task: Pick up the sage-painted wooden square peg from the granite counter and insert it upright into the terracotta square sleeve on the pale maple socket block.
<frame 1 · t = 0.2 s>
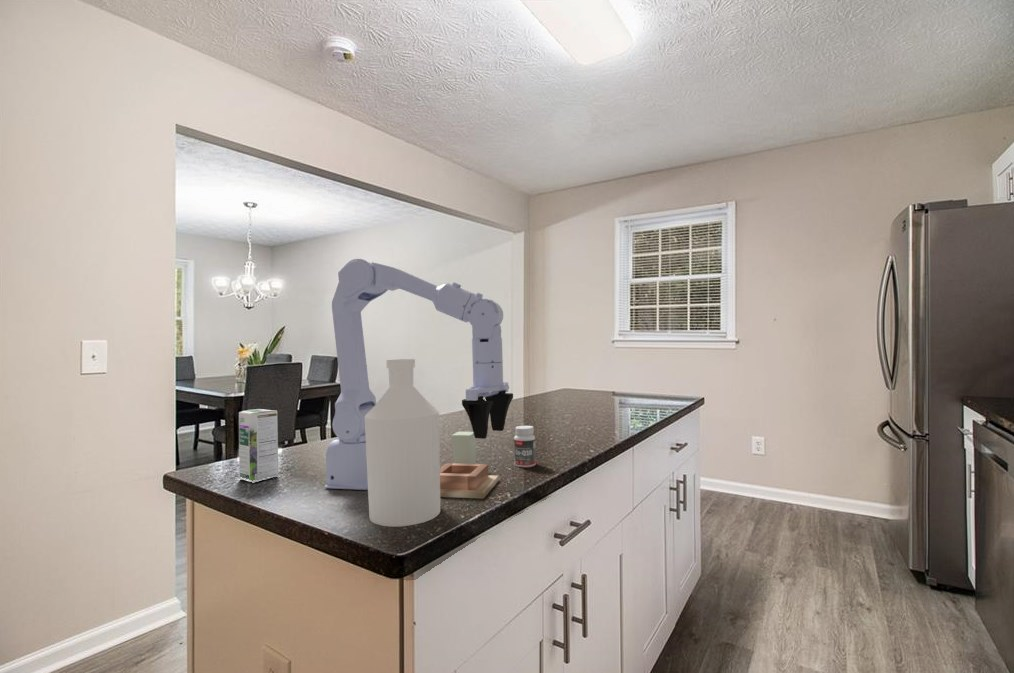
hand: (489, 434, 93), 10 cm above the counter, tool pointing down, fingers open, 7 cm apart
pill bottle: (525, 465, 108), on the counter
bottle: (405, 514, 80), on the counter
peg: (465, 470, 105), on the counter
syrup box: (259, 479, 103), on the counter
socket block: (460, 487, 92), on the counter
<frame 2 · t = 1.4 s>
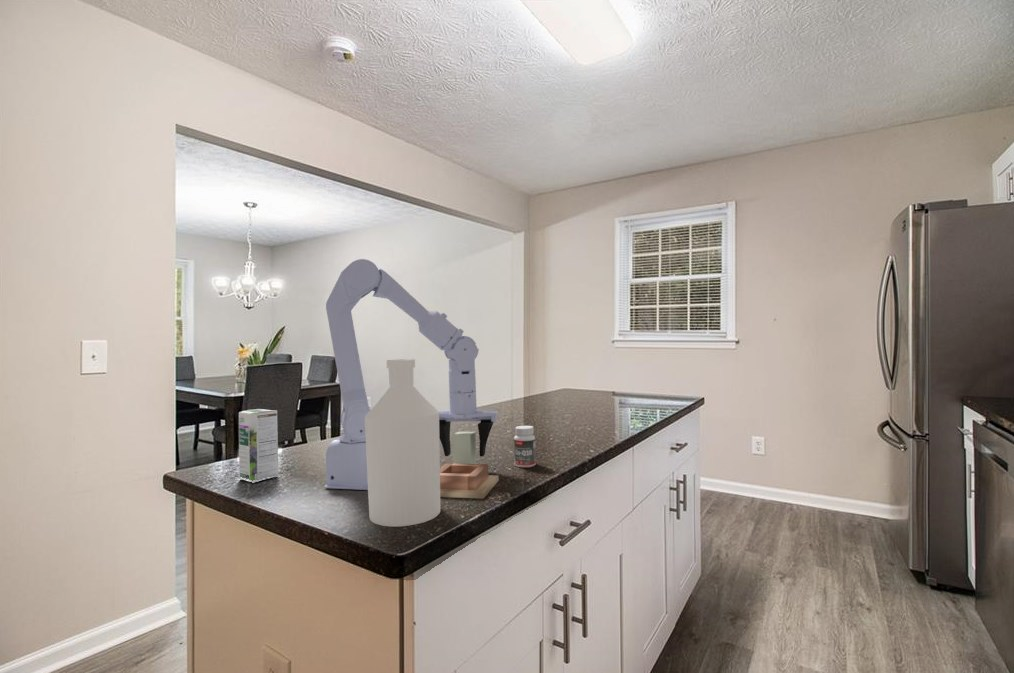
hand: (464, 455, 105), 3 cm above the counter, tool pointing down, fingers open, 7 cm apart
nothing on the counter moved.
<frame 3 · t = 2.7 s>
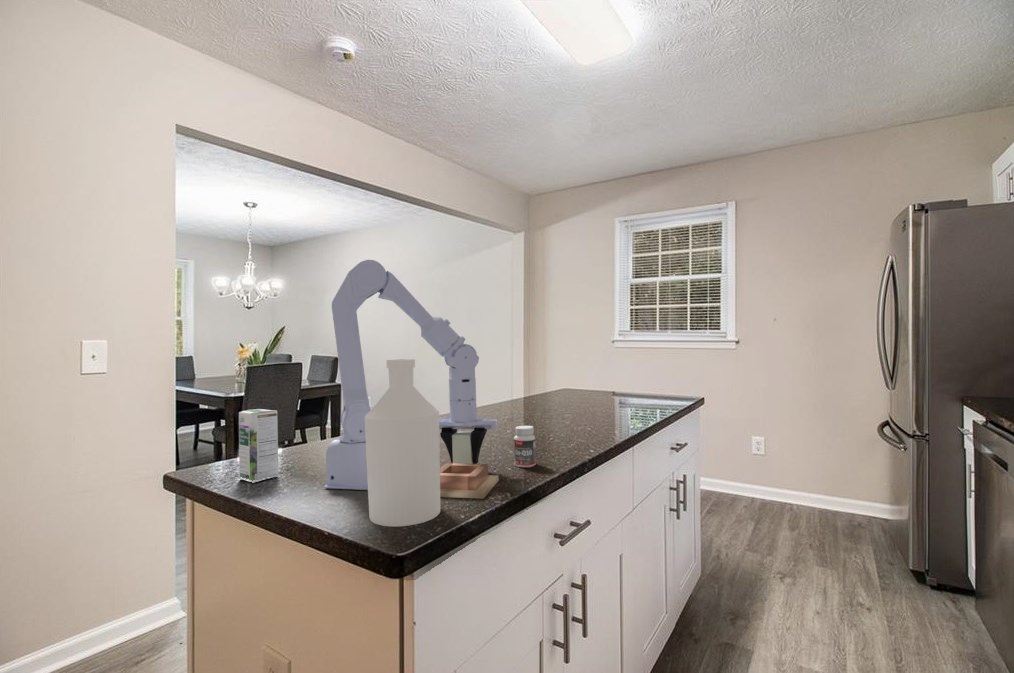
hand: (464, 463, 105), 2 cm above the counter, tool pointing down, fingers closed on peg, 4 cm apart
peg: (465, 470, 105), on the counter, touching gripper
everything else where it was.
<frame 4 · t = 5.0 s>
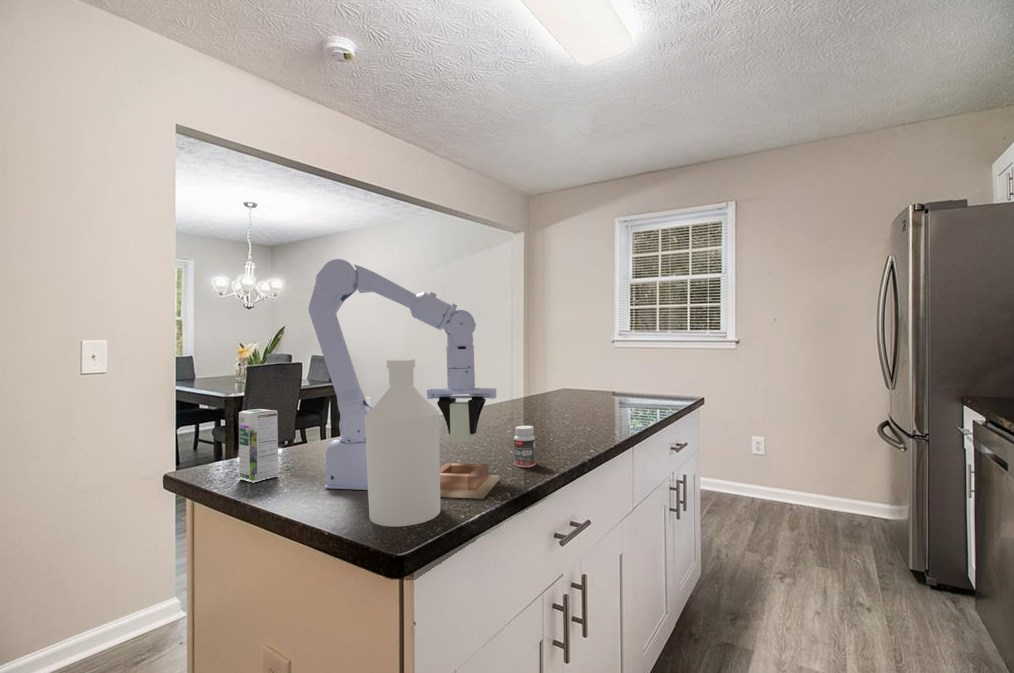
hand: (462, 433, 102), 9 cm above the counter, tool pointing down, fingers closed on peg, 4 cm apart
peg: (462, 441, 102), point 7 cm above the counter, touching gripper
everything else where it was.
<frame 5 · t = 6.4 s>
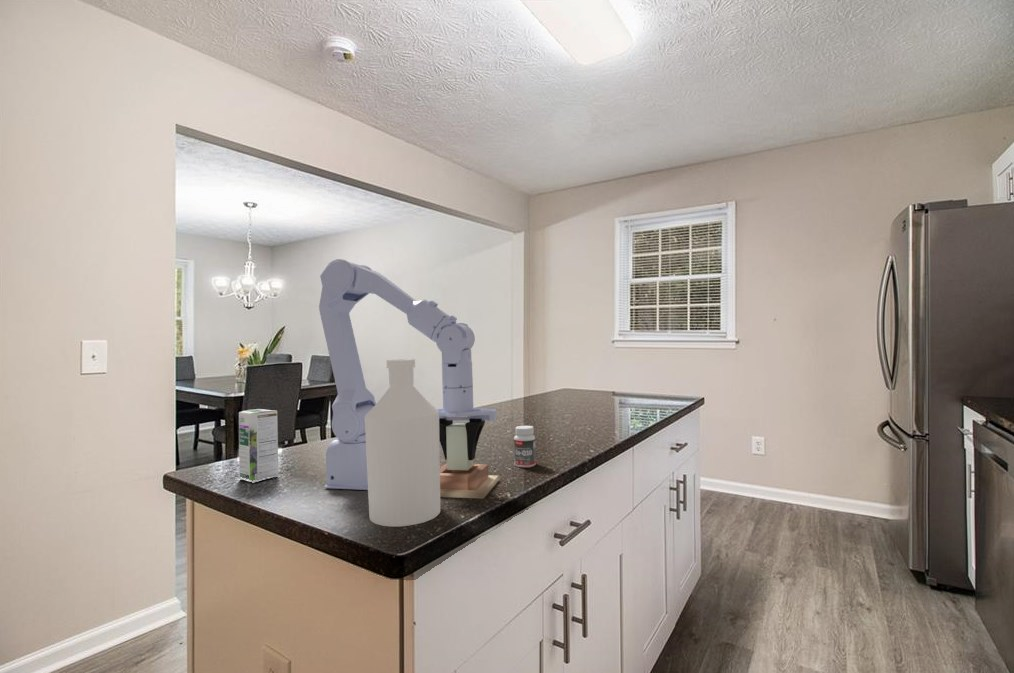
hand: (460, 458, 92), 6 cm above the counter, tool pointing down, fingers closed on peg, 4 cm apart
peg: (460, 467, 93), point 4 cm above the counter, touching gripper
everything else where it was.
when the fingers open (4 cm above the counter, at t = 7.5 s): peg drops 2 cm, resting on socket block.
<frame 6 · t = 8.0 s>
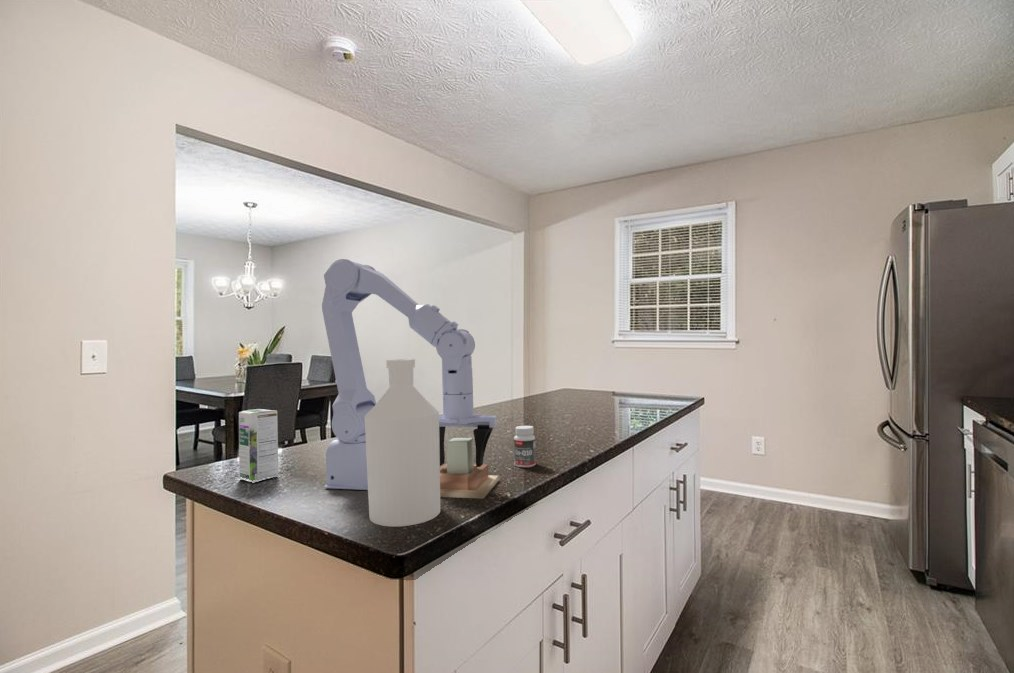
hand: (460, 465, 92), 4 cm above the counter, tool pointing down, fingers open, 7 cm apart
peg: (461, 482, 93), point 1 cm above the counter, touching socket block
everything else where it was.
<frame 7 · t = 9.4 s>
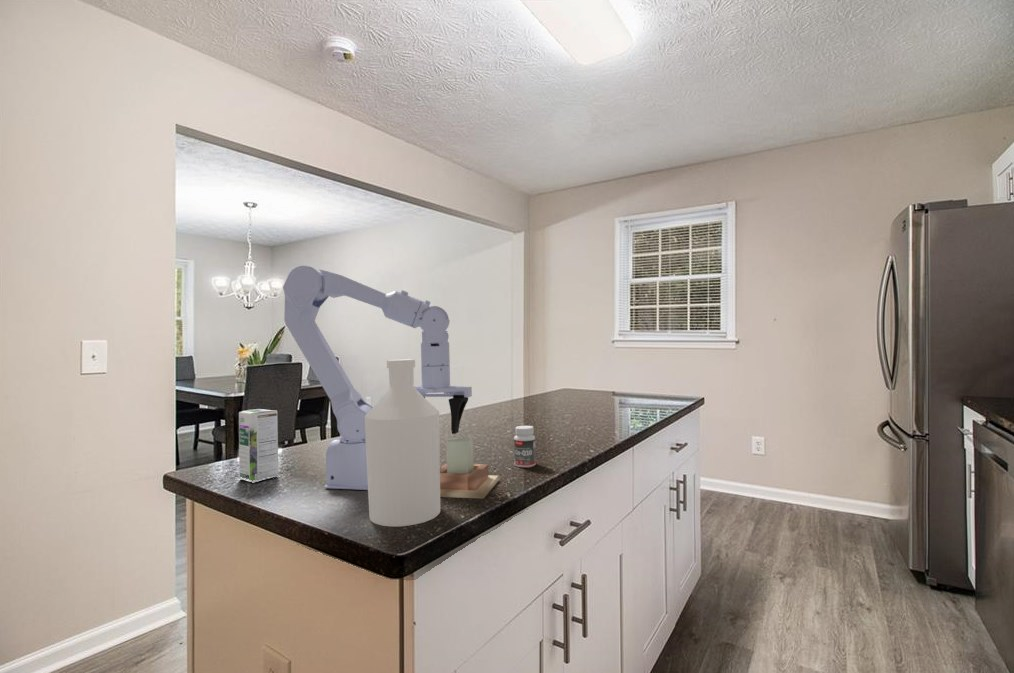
hand: (437, 432, 99), 9 cm above the counter, tool pointing down, fingers open, 7 cm apart
nothing on the counter moved.
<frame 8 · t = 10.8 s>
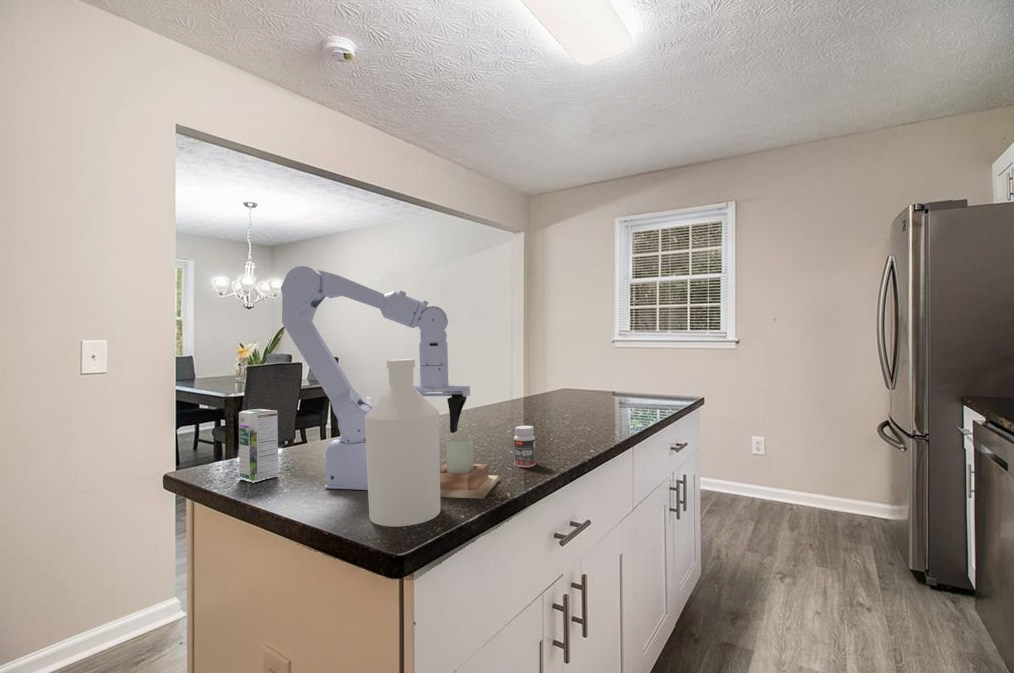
hand: (435, 431, 100), 9 cm above the counter, tool pointing down, fingers open, 7 cm apart
nothing on the counter moved.
at the end: peg 0.2 cm off-centre on the socket block, point 1.0 cm above the socket block's base; peg tilted 0°; the gripper is holding nothing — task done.
